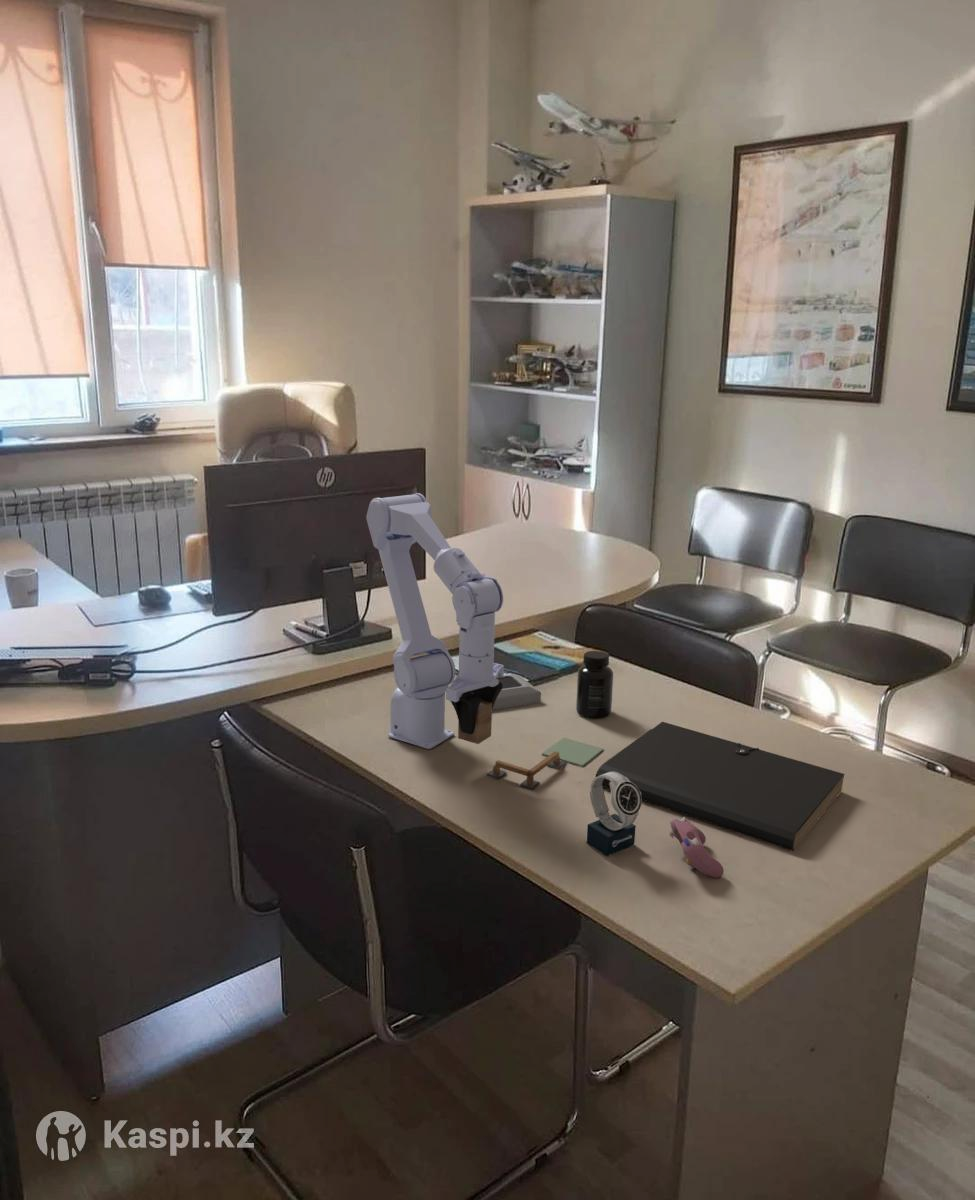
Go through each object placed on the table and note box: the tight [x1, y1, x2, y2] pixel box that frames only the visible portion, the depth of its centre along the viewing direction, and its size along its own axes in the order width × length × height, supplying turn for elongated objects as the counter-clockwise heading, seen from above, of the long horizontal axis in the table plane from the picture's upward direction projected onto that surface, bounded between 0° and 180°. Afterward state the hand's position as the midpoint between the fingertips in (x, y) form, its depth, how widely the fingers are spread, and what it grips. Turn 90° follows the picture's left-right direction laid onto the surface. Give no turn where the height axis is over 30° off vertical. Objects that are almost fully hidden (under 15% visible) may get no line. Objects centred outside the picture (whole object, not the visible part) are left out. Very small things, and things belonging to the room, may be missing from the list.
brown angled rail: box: [486, 751, 567, 791], centre depth 166 cm, size 9×11×2 cm
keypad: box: [492, 673, 542, 710], centre depth 195 cm, size 10×4×15 cm
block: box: [457, 700, 493, 745], centre depth 164 cm, size 4×4×6 cm
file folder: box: [594, 721, 846, 851], centre depth 161 cm, size 33×4×24 cm
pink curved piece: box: [668, 816, 724, 879], centre depth 139 cm, size 10×5×7 cm, turn 5°
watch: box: [586, 772, 643, 857], centre depth 142 cm, size 6×8×11 cm
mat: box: [541, 737, 604, 768], centre depth 173 cm, size 8×8×1 cm
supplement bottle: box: [575, 650, 614, 720], centre depth 188 cm, size 7×7×12 cm
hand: (474, 727), depth 164 cm, fingers closed on block, 4 cm apart
